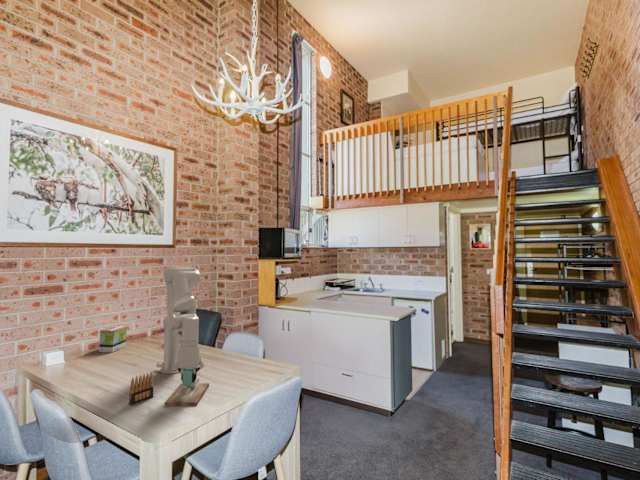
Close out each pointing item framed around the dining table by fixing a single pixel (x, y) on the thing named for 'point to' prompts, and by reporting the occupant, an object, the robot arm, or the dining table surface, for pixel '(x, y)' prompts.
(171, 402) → the rail board
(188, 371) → the teal module
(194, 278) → the robot arm
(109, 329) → the tea box
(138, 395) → the ammunition clip
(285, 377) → the dining table surface
